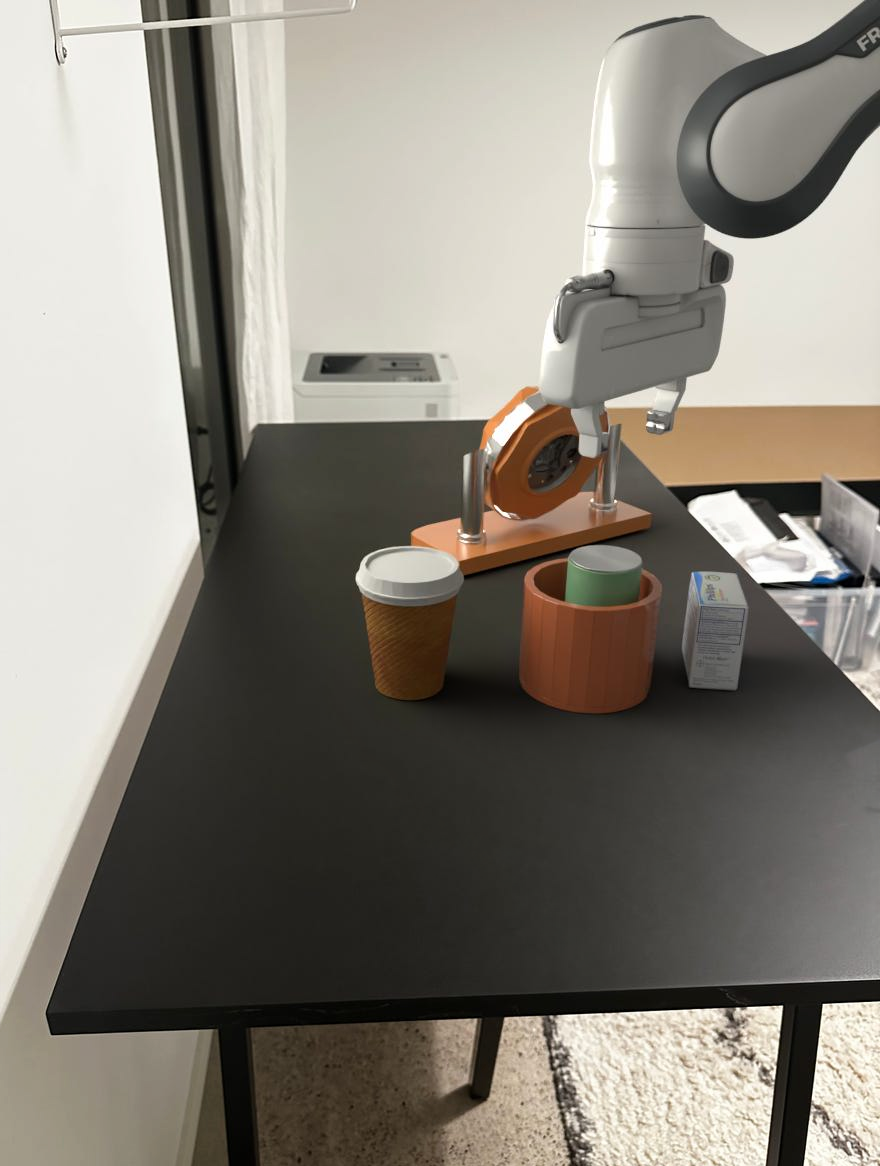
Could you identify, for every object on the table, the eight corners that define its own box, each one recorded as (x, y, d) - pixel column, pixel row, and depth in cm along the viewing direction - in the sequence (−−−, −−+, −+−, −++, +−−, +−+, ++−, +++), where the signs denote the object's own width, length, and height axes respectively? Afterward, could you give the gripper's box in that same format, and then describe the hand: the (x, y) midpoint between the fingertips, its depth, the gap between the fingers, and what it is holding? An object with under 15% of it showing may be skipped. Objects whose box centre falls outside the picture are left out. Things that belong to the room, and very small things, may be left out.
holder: (675, 681, 97) (688, 582, 92) (598, 728, 89) (609, 622, 85) (571, 641, 104) (578, 547, 100) (492, 680, 97) (497, 581, 93)
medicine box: (737, 692, 95) (751, 606, 91) (686, 689, 96) (699, 602, 92) (726, 654, 102) (739, 572, 98) (679, 650, 103) (690, 569, 99)
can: (657, 557, 91) (597, 539, 95) (614, 577, 87) (553, 557, 91) (643, 679, 96) (586, 656, 100) (602, 703, 92) (544, 678, 96)
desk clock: (652, 532, 133) (671, 372, 124) (461, 582, 118) (467, 405, 109) (587, 506, 142) (600, 355, 133) (402, 549, 127) (403, 383, 118)
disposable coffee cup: (337, 681, 97) (333, 561, 92) (414, 651, 102) (415, 536, 97) (402, 721, 90) (403, 594, 85) (482, 687, 96) (487, 566, 91)
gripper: (594, 282, 71) (582, 478, 77) (745, 257, 84) (725, 427, 90) (522, 275, 75) (516, 462, 81) (677, 252, 88) (661, 415, 94)
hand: (627, 443), depth 85 cm, fingers open, 8 cm apart
